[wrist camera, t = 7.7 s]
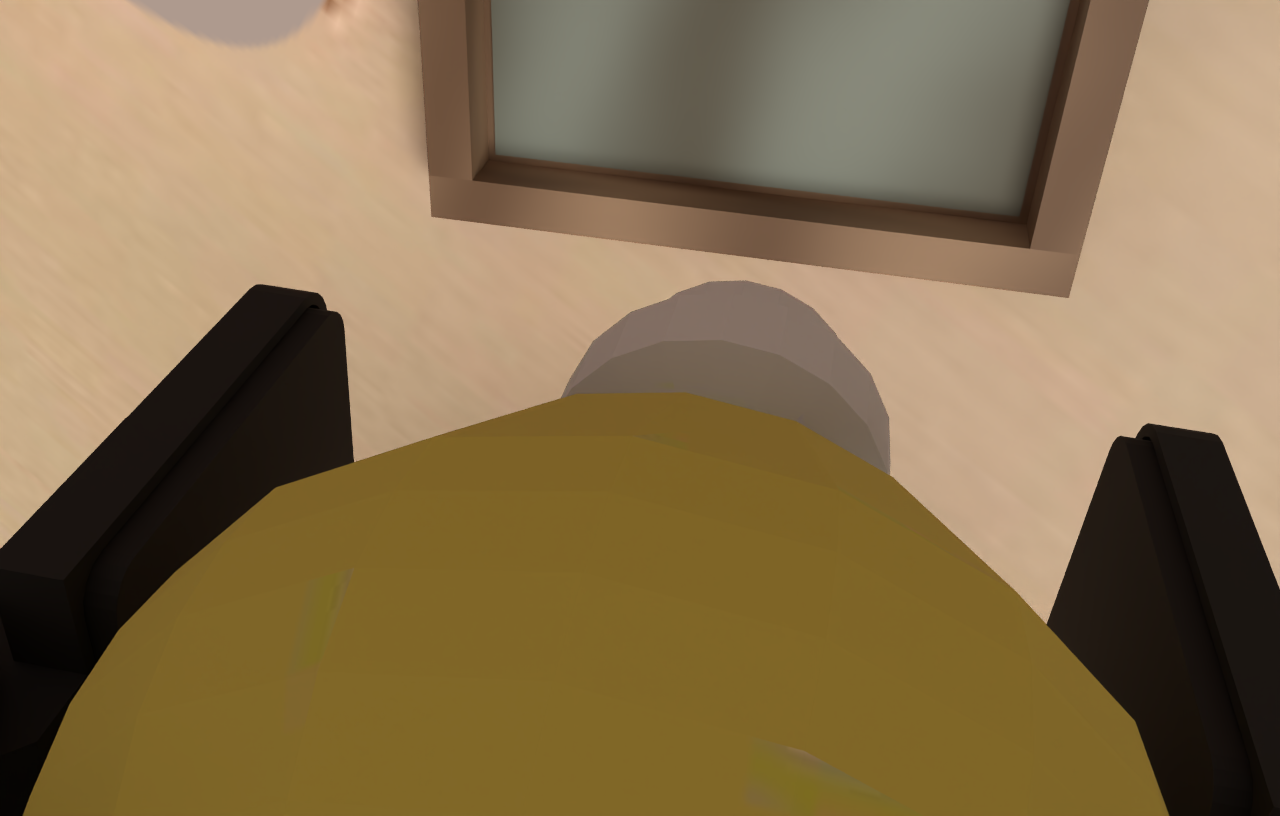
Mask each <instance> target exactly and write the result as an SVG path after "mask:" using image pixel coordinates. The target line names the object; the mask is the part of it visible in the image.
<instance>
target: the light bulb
mask: <svg viewBox="0 0 1280 816" xmlns="http://www.w3.org/2000/svg"><path fill="white" fill-rule="evenodd" d="M23 816H1169V814H1168V811H1167V808H1166V805H1165V803H1164V800H1163V797H1162V794H1161V792H1160V789H1159V786H1158V783H1157V780H1156V778H1155V775H1154V772H1153V769H1152V767H1151V764H1150V761H1149V758H1148V756H1147V753H1146V750H1145V747H1144V745H1143V742H1142V739H1141V736H1140V734H1139V731H1138V728H1137V725H1136V722H1135V720H1134V719H1133V718H1132V717H1131V716H1130V715H1129V714H1128V713H1127V712H1126V711H1125V710H1124V709H1123V707H1122V706H1121V705H1120V704H1119V703H1118V702H1117V701H1116V700H1115V699H1114V698H1113V697H1112V695H1111V694H1110V693H1109V692H1108V691H1107V690H1106V689H1105V688H1104V687H1103V686H1102V685H1101V683H1100V682H1099V681H1098V680H1097V679H1096V678H1095V677H1094V676H1093V675H1092V674H1091V673H1090V672H1089V670H1088V669H1087V668H1086V667H1085V666H1084V665H1083V664H1082V663H1081V662H1080V661H1079V660H1078V658H1077V657H1076V656H1075V655H1074V654H1073V653H1072V652H1071V651H1070V650H1069V649H1068V648H1067V647H1066V645H1065V644H1064V643H1063V642H1062V641H1061V640H1060V639H1059V638H1058V637H1057V636H1056V635H1055V633H1054V632H1053V631H1052V630H1051V629H1050V628H1049V627H1048V626H1047V625H1046V624H1045V623H1044V621H1043V620H1042V619H1041V618H1040V617H1039V616H1038V615H1037V614H1036V613H1035V612H1034V611H1033V610H1032V608H1031V607H1030V606H1029V605H1028V604H1027V603H1026V602H1025V601H1024V600H1023V599H1022V598H1021V596H1020V595H1019V594H1018V593H1017V592H1016V591H1015V590H1014V589H1013V588H1011V587H1010V586H1009V585H1008V584H1007V583H1006V582H1005V581H1004V580H1003V579H1002V578H1001V577H1000V576H999V575H997V574H996V573H995V572H994V571H993V570H992V569H991V568H990V567H989V566H988V565H987V564H986V563H985V562H983V561H982V560H981V559H980V558H979V557H978V556H977V555H976V554H975V553H974V552H973V551H972V550H971V549H969V548H968V547H967V546H966V545H965V544H964V543H963V542H962V541H961V540H960V539H959V538H958V537H957V536H955V535H954V534H953V533H952V532H951V531H950V530H949V529H948V528H947V527H946V526H945V525H944V524H943V523H941V522H940V521H939V520H938V519H937V518H936V517H935V516H934V515H933V514H932V513H931V512H930V511H929V510H927V509H926V508H925V507H924V506H923V505H922V504H921V503H920V502H919V501H918V500H917V499H916V498H915V497H913V496H912V495H911V494H910V493H909V492H908V491H907V490H906V489H905V488H904V487H903V486H902V485H900V484H899V483H898V482H897V481H896V480H895V479H894V478H893V477H892V476H890V435H889V417H888V414H887V412H886V409H885V407H884V405H883V402H882V400H881V398H880V395H879V393H878V390H877V388H876V386H875V383H874V381H873V378H872V376H871V374H870V373H869V371H868V370H867V369H866V368H865V367H864V366H863V365H862V364H861V363H860V361H859V360H858V359H857V358H856V357H855V356H854V355H853V354H852V353H851V352H850V350H849V349H848V348H847V347H846V346H845V345H844V344H843V343H842V342H841V340H840V339H839V338H838V337H837V335H836V333H835V332H834V331H833V330H832V329H831V328H830V327H829V326H828V324H827V323H826V322H825V321H824V320H823V319H822V318H821V317H820V316H819V314H818V313H817V312H816V311H815V310H814V309H813V308H812V307H810V306H808V305H807V304H805V303H803V302H802V301H800V300H798V299H797V298H795V297H793V296H791V295H790V294H788V293H786V292H785V291H783V290H781V289H777V288H773V287H769V286H765V285H761V284H757V283H754V282H750V281H717V282H707V283H704V284H701V285H699V286H696V287H693V288H690V289H687V290H684V291H681V292H678V293H676V294H675V295H673V296H672V297H671V298H669V299H667V300H664V301H662V302H659V303H656V304H653V305H650V306H647V307H644V308H641V309H638V310H635V311H632V312H630V313H629V314H628V315H626V316H625V317H624V318H623V319H621V320H620V321H619V322H617V323H616V324H615V325H613V326H612V327H611V328H610V329H608V330H607V331H606V332H604V333H603V334H602V335H600V336H599V337H598V338H597V339H595V340H594V341H593V342H592V344H591V346H590V347H589V349H588V350H587V352H586V354H585V355H584V357H583V359H582V360H581V362H580V363H579V365H578V367H577V368H576V370H575V371H574V373H573V375H572V376H571V378H570V380H569V382H568V384H567V386H566V388H565V391H564V393H563V395H562V397H561V399H557V400H554V401H551V402H547V403H544V404H541V405H537V406H534V407H531V408H528V409H524V410H521V411H518V412H514V413H511V414H508V415H504V416H501V417H498V418H495V419H491V420H488V421H485V422H481V423H478V424H475V425H471V426H468V427H465V428H461V429H458V430H455V431H452V432H448V433H445V434H442V435H438V436H435V437H432V438H429V439H426V440H423V441H419V442H416V443H413V444H410V445H407V446H404V447H401V448H398V449H394V450H391V451H388V452H385V453H382V454H379V455H376V456H373V457H369V458H366V459H363V460H360V461H357V462H354V463H351V464H348V465H345V466H341V467H338V468H335V469H332V470H329V471H326V472H323V473H320V474H316V475H313V476H310V477H307V478H304V479H301V480H298V481H295V482H292V483H288V484H285V485H282V486H279V487H276V488H275V489H273V490H272V491H271V492H270V493H269V494H267V495H266V496H265V497H264V498H263V499H262V500H260V501H259V502H258V503H257V504H256V505H254V506H253V507H252V508H251V509H250V510H248V511H247V512H246V513H245V514H244V515H242V516H241V517H240V518H239V519H238V520H237V521H235V522H234V523H233V524H232V525H231V526H229V527H228V528H227V529H226V530H225V531H223V532H222V533H221V534H220V535H219V536H217V537H216V538H215V539H214V540H213V541H212V542H210V543H209V544H208V545H207V546H206V547H204V548H203V549H202V550H201V551H200V552H198V553H197V554H196V555H195V556H194V557H192V558H191V559H190V560H189V561H188V562H187V563H185V564H184V565H183V566H182V567H181V568H179V569H178V570H177V571H176V572H175V573H174V574H173V575H172V576H171V577H170V578H169V579H168V580H167V581H166V582H165V583H164V584H163V585H162V586H161V587H160V588H159V589H158V590H157V591H156V592H155V593H154V594H153V595H152V596H151V597H150V598H149V599H148V600H147V601H146V602H145V603H144V604H143V606H142V607H141V608H140V609H139V610H138V611H137V612H136V613H135V614H134V615H133V616H132V617H131V618H130V619H129V620H128V621H127V622H126V623H125V624H124V625H123V626H122V627H121V628H120V629H119V630H118V632H117V633H116V635H115V636H114V638H113V639H112V641H111V643H110V644H109V646H108V647H107V649H106V650H105V652H104V653H103V655H102V656H101V658H100V659H99V661H98V662H97V664H96V665H95V667H94V668H93V670H92V671H91V673H90V674H89V676H88V677H87V679H86V680H85V682H84V683H83V685H82V686H81V688H80V689H79V691H78V692H77V694H76V695H75V697H74V698H73V700H72V701H71V703H70V704H69V707H68V709H67V711H66V714H65V716H64V718H63V721H62V723H61V725H60V728H59V730H58V732H57V735H56V737H55V739H54V742H53V744H52V746H51V749H50V751H49V753H48V756H47V758H46V760H45V762H44V765H43V767H42V769H41V772H40V774H39V776H38V779H37V781H36V783H35V786H34V788H33V790H32V793H31V795H30V797H29V800H28V803H27V805H26V808H25V811H24V813H23Z"/></svg>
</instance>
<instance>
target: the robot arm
mask: <svg viewBox="0 0 1280 816" xmlns="http://www.w3.org/2000/svg"><path fill="white" fill-rule="evenodd" d="M351 463H354V458H353V444H352V430H351V416H350V402H349V387H348V373H347V359H346V345H345V331H344V324H343V320H342V317H341V315H340V314H339V313H338V312H334V311H328V310H327V308H326V304H325V302H324V299H323V297H322V296H321V295H319V294H318V293H314V292H308V291H301V290H295V289H288V288H282V287H276V286H269V285H263V284H258V285H255V286H253V287H252V288H251V289H249V290H248V291H247V292H246V294H245V295H244V296H243V297H242V298H241V299H240V300H239V301H238V302H237V303H236V304H235V305H234V306H233V307H232V308H231V309H230V310H229V311H228V312H227V313H226V314H225V315H224V317H223V318H222V319H221V320H220V321H219V322H218V323H217V324H216V325H215V326H214V327H213V328H212V329H211V330H210V331H209V332H208V333H207V334H206V335H205V336H204V337H203V339H202V340H201V341H200V342H199V343H198V344H197V345H196V346H195V347H194V348H193V349H192V350H191V351H190V352H189V353H188V354H187V355H186V356H185V357H184V358H183V359H182V360H181V362H180V363H179V364H178V365H177V366H176V367H175V368H174V369H173V370H172V371H171V372H170V373H169V374H168V375H167V376H166V377H165V378H164V379H163V380H162V381H161V382H160V384H159V385H158V386H157V387H156V388H155V389H154V390H153V391H152V392H151V393H150V394H149V395H148V396H147V397H146V398H145V399H144V400H143V401H142V402H141V403H140V404H139V406H138V407H137V408H136V409H135V410H134V411H133V412H132V413H131V414H130V415H129V416H128V417H127V418H125V419H124V420H123V421H122V422H121V423H120V425H119V426H118V427H117V428H116V429H115V430H114V431H113V432H112V433H111V434H110V435H109V436H108V437H107V438H106V439H105V440H104V441H103V442H102V443H101V444H100V445H99V446H98V448H97V449H96V450H95V451H94V452H93V453H92V454H91V455H90V456H89V457H88V458H87V459H86V460H85V461H84V462H83V463H82V464H81V465H80V466H79V467H78V468H77V469H76V471H75V472H74V473H73V474H72V475H71V476H70V477H69V478H68V479H67V480H66V481H65V482H64V483H63V484H62V485H61V486H60V487H59V488H58V489H57V490H56V491H55V492H54V494H53V495H52V496H51V497H50V498H49V499H48V500H47V501H46V502H45V503H44V504H43V505H42V506H41V507H40V508H39V509H38V510H37V511H36V512H35V513H34V514H33V515H32V517H31V518H30V519H29V520H28V521H27V522H26V523H25V524H24V525H23V526H22V527H21V528H20V529H19V530H18V531H17V532H16V533H15V534H14V535H13V536H12V537H11V538H10V540H9V541H8V542H7V543H6V544H5V545H4V546H3V547H2V548H1V549H0V816H23V813H24V811H25V808H26V805H27V803H28V800H29V797H30V795H31V793H32V790H33V788H34V786H35V783H36V781H37V779H38V776H39V774H40V772H41V769H42V767H43V765H44V762H45V760H46V758H47V756H48V753H49V751H50V749H51V746H52V744H53V742H54V739H55V737H56V735H57V732H58V730H59V728H60V725H61V723H62V721H63V718H64V716H65V714H66V711H67V709H68V707H69V704H70V703H71V701H72V700H73V698H74V697H75V695H76V694H77V692H78V691H79V689H80V688H81V686H82V685H83V683H84V682H85V680H86V679H87V677H88V676H89V674H90V673H91V671H92V670H93V668H94V667H95V665H96V664H97V662H98V661H99V659H100V658H101V656H102V655H103V653H104V652H105V650H106V649H107V647H108V646H109V644H110V643H111V641H112V639H113V638H114V636H115V635H116V633H117V632H118V630H119V629H120V628H121V627H122V626H123V625H124V624H125V623H126V622H127V621H128V620H129V619H130V618H131V617H132V616H133V615H134V614H135V613H136V612H137V611H138V610H139V609H140V608H141V607H142V606H143V604H144V603H145V602H146V601H147V600H148V599H149V598H150V597H151V596H152V595H153V594H154V593H155V592H156V591H157V590H158V589H159V588H160V587H161V586H162V585H163V584H164V583H165V582H166V581H167V580H168V579H169V578H170V577H171V576H172V575H173V574H174V573H175V572H176V571H177V570H178V569H179V568H181V567H182V566H183V565H184V564H185V563H187V562H188V561H189V560H190V559H191V558H192V557H194V556H195V555H196V554H197V553H198V552H200V551H201V550H202V549H203V548H204V547H206V546H207V545H208V544H209V543H210V542H212V541H213V540H214V539H215V538H216V537H217V536H219V535H220V534H221V533H222V532H223V531H225V530H226V529H227V528H228V527H229V526H231V525H232V524H233V523H234V522H235V521H237V520H238V519H239V518H240V517H241V516H242V515H244V514H245V513H246V512H247V511H248V510H250V509H251V508H252V507H253V506H254V505H256V504H257V503H258V502H259V501H260V500H262V499H263V498H264V497H265V496H266V495H267V494H269V493H270V492H271V491H272V490H273V489H275V488H276V487H279V486H282V485H285V484H288V483H292V482H295V481H298V480H301V479H304V478H307V477H310V476H313V475H316V474H320V473H323V472H326V471H329V470H332V469H335V468H338V467H341V466H345V465H348V464H351ZM1047 626H1048V627H1049V628H1050V629H1051V630H1052V631H1053V632H1054V633H1055V635H1056V636H1057V637H1058V638H1059V639H1060V640H1061V641H1062V642H1063V643H1064V644H1065V645H1066V647H1067V648H1068V649H1069V650H1070V651H1071V652H1072V653H1073V654H1074V655H1075V656H1076V657H1077V658H1078V660H1079V661H1080V662H1081V663H1082V664H1083V665H1084V666H1085V667H1086V668H1087V669H1088V670H1089V672H1090V673H1091V674H1092V675H1093V676H1094V677H1095V678H1096V679H1097V680H1098V681H1099V682H1100V683H1101V685H1102V686H1103V687H1104V688H1105V689H1106V690H1107V691H1108V692H1109V693H1110V694H1111V695H1112V697H1113V698H1114V699H1115V700H1116V701H1117V702H1118V703H1119V704H1120V705H1121V706H1122V707H1123V709H1124V710H1125V711H1126V712H1127V713H1128V714H1129V715H1130V716H1131V717H1132V718H1133V719H1134V720H1135V722H1136V725H1137V728H1138V731H1139V734H1140V736H1141V739H1142V742H1143V745H1144V747H1145V750H1146V753H1147V756H1148V758H1149V761H1150V764H1151V767H1152V769H1153V772H1154V775H1155V778H1156V780H1157V783H1158V786H1159V789H1160V792H1161V794H1162V797H1163V800H1164V803H1165V805H1166V808H1167V811H1168V814H1169V816H1280V589H1279V586H1278V584H1277V581H1276V579H1275V576H1274V573H1273V571H1272V568H1271V566H1270V563H1269V561H1268V558H1267V555H1266V553H1265V550H1264V548H1263V545H1262V543H1261V540H1260V537H1259V535H1258V532H1257V530H1256V527H1255V525H1254V522H1253V519H1252V517H1251V514H1250V512H1249V509H1248V507H1247V504H1246V501H1245V499H1244V496H1243V494H1242V491H1241V489H1240V486H1239V483H1238V481H1237V478H1236V476H1235V473H1234V471H1233V468H1232V465H1231V463H1230V460H1229V458H1228V455H1227V453H1226V450H1225V447H1224V445H1223V442H1222V441H1221V439H1220V438H1219V436H1218V435H1215V434H1213V433H1206V432H1200V431H1193V430H1187V429H1181V428H1174V427H1168V426H1162V425H1155V424H1149V423H1148V424H1146V425H1144V426H1143V427H1142V428H1141V430H1140V431H1139V432H1138V434H1137V436H1136V438H1130V437H1124V436H1119V437H1117V438H1116V440H1115V441H1114V442H1113V444H1112V446H1111V449H1110V451H1109V453H1108V456H1107V459H1106V462H1105V465H1104V467H1103V470H1102V473H1101V476H1100V478H1099V481H1098V484H1097V487H1096V489H1095V492H1094V495H1093V498H1092V500H1091V503H1090V506H1089V509H1088V512H1087V514H1086V517H1085V520H1084V523H1083V525H1082V528H1081V531H1080V534H1079V536H1078V539H1077V542H1076V545H1075V547H1074V550H1073V553H1072V556H1071V559H1070V561H1069V564H1068V567H1067V570H1066V572H1065V575H1064V578H1063V581H1062V583H1061V586H1060V589H1059V592H1058V594H1057V597H1056V600H1055V603H1054V606H1053V608H1052V611H1051V614H1050V617H1049V619H1048V622H1047Z"/></svg>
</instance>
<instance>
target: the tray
mask: <svg viewBox="0 0 1280 816" xmlns="http://www.w3.org/2000/svg"><path fill="white" fill-rule="evenodd" d="M1148 2H1149V0H418V8H419V24H420V40H421V56H422V72H423V88H424V104H425V120H426V136H427V152H428V168H429V184H430V200H431V216H432V217H438V218H446V219H454V220H462V221H470V222H477V223H485V224H493V225H501V226H509V227H517V228H524V229H532V230H540V231H548V232H556V233H564V234H571V235H579V236H587V237H595V238H603V239H611V240H619V241H626V242H634V243H642V244H650V245H658V246H666V247H673V248H681V249H689V250H697V251H705V252H713V253H720V254H728V255H736V256H744V257H752V258H760V259H767V260H775V261H783V262H791V263H799V264H807V265H815V266H822V267H830V268H838V269H846V270H854V271H862V272H869V273H877V274H885V275H893V276H901V277H909V278H916V279H924V280H932V281H940V282H948V283H956V284H963V285H971V286H979V287H987V288H995V289H1003V290H1010V291H1018V292H1026V293H1034V294H1042V295H1050V296H1058V297H1065V298H1069V294H1070V290H1071V287H1072V283H1073V279H1074V276H1075V272H1076V268H1077V264H1078V261H1079V257H1080V253H1081V250H1082V246H1083V242H1084V239H1085V235H1086V231H1087V228H1088V224H1089V220H1090V216H1091V213H1092V209H1093V205H1094V202H1095V198H1096V194H1097V191H1098V187H1099V183H1100V179H1101V176H1102V172H1103V168H1104V165H1105V161H1106V157H1107V154H1108V150H1109V146H1110V142H1111V139H1112V135H1113V131H1114V128H1115V124H1116V120H1117V117H1118V113H1119V109H1120V106H1121V102H1122V98H1123V94H1124V91H1125V87H1126V83H1127V80H1128V76H1129V72H1130V69H1131V65H1132V61H1133V57H1134V54H1135V50H1136V46H1137V43H1138V39H1139V35H1140V32H1141V28H1142V24H1143V21H1144V17H1145V13H1146V9H1147V6H1148Z"/></svg>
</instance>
